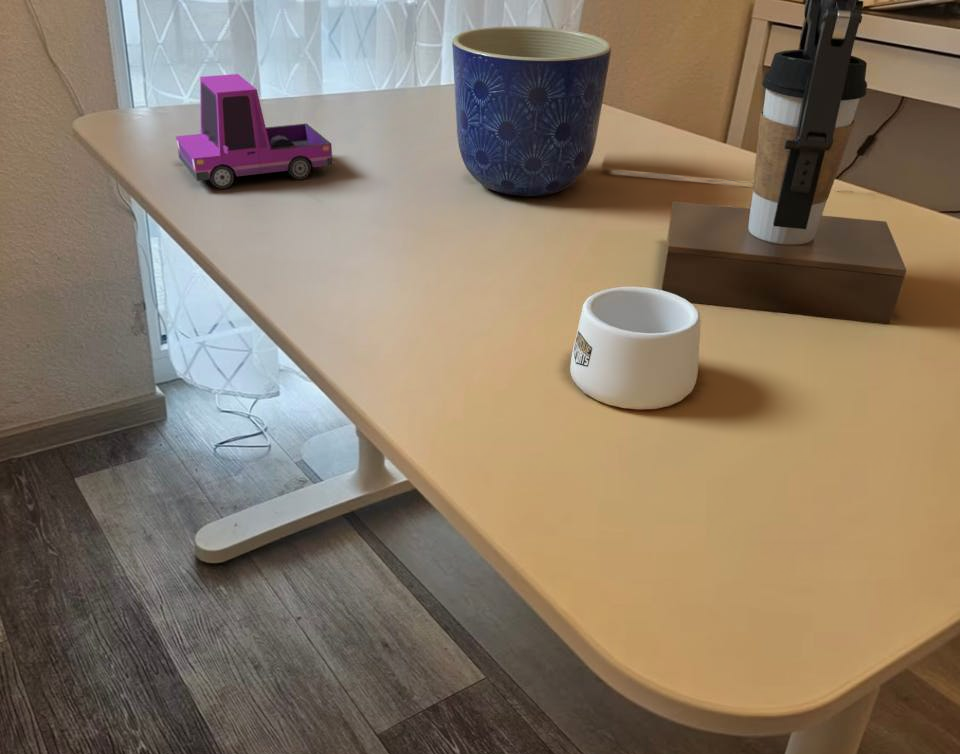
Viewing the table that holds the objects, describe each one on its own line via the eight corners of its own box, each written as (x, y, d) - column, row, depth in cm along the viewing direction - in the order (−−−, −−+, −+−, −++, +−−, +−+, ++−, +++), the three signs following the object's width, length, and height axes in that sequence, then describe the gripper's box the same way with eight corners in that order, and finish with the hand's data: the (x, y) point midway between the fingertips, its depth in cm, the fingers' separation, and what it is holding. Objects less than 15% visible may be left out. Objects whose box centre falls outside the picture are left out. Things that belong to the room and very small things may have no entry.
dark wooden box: (871, 271, 93) (886, 221, 90) (889, 324, 83) (907, 270, 80) (665, 250, 95) (672, 201, 92) (660, 299, 86) (668, 245, 83)
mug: (716, 406, 71) (731, 332, 67) (595, 420, 69) (604, 345, 65) (651, 334, 80) (662, 266, 76) (543, 345, 78) (548, 275, 74)
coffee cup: (726, 240, 84) (760, 57, 75) (742, 211, 91) (776, 38, 82) (823, 257, 82) (871, 69, 73) (833, 225, 88) (878, 49, 79)
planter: (621, 202, 106) (639, 54, 97) (478, 216, 102) (483, 62, 92) (562, 157, 119) (572, 23, 110) (432, 167, 114) (432, 28, 105)
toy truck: (179, 167, 112) (164, 75, 106) (306, 153, 117) (299, 65, 111) (201, 195, 104) (187, 99, 98) (336, 179, 110) (330, 87, 104)
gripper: (794, -103, 80) (741, 171, 94) (815, -81, 64) (747, 247, 77) (887, -98, 79) (819, 178, 92) (932, -75, 63) (842, 257, 76)
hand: (786, 209), depth 85 cm, fingers closed on coffee cup, 8 cm apart
